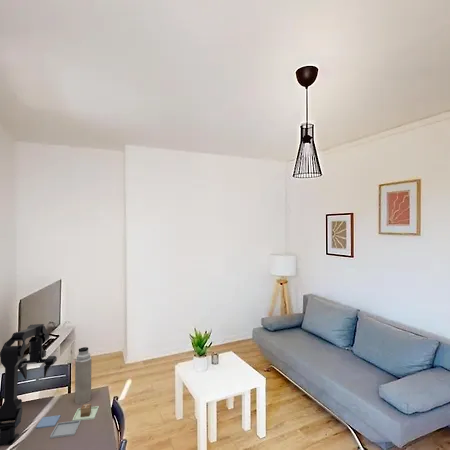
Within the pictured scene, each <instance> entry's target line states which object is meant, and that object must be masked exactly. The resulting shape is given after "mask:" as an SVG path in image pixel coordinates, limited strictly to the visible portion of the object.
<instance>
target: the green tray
mask: <svg viewBox="0 0 450 450" xmlns="http://www.w3.org/2000/svg"><path fill="white" fill-rule="evenodd" d="M99 407H100V406H99V405H96V406H91V413H90V416H87V417H81V407H79V408H77V410H76V412H75V414H74V416H73V417H72V420H71V421H78V420H81V421H89V420H95V419H96V416H97V414H98V411H99Z"/></svg>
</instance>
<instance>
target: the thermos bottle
mask: <svg viewBox="0 0 450 450" xmlns="http://www.w3.org/2000/svg"><path fill="white" fill-rule="evenodd" d="M74 366H75V368H74V369H75V370H74V374H75V375H74V378H75V379H74V381H75V382H74V389H75V391H74V402H75V404H76V405H77V404H78V405H83V404H87V403H88V402H90V401H91V400H92V357H91V353H90V352H89V347H87V346H85V347H80V348H78V354H77V355H76V359H75V364H74Z"/></svg>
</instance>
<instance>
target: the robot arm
mask: <svg viewBox="0 0 450 450" xmlns="http://www.w3.org/2000/svg"><path fill="white" fill-rule="evenodd" d="M11 335H12V336H11V337H10V338H9V339H8V340H6V342H5V343H3V346H2V348H1V350H0V363H1V365H2V366H3V367H4V390H3V392H4V393H3V402H2V405H1V406H0V447H2V446H9V445H13V444H14V442H15V441H16V439H17V438H18V437H19V436H20V435H19V433H16V430H17V427H18V426H19V425H20V424H21V421H22V415H23V405H22V403H23V400H22V399H21V398H18V384H19V383H18V380H19V379H18V378H19V372H20V373H21V375H22V377H23V378H24V380H27V379H28V365H32V364H33V365H35V364H36V365H37V364H44V366H43V370H44V371H43V377H44V378H46V377H47V375H48V372H49V370H50V367H51V366H53V365H54V364H55V363H56V362H57V356H56V355H49V356H48V357H46V355H47V350H44V348H43V345H44V344H45V343H46V342H47V341H49V339H50V334H49V333H48V331H47V328H46V326H45V324H44V323H38V324H37V323H36V324H29V325H28V326H27V328H26V329H23V330H21V331H16V332H14V333H12V334H11ZM29 338H30V339H29ZM27 339H29V340H28V343H29V352H28V355H29V359H28V358H27V357H25V358H23V357H24V353H25V351H26V349H27V344H26V340H27ZM15 342H22V344H21V345H13V344H15Z"/></svg>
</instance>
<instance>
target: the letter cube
mask: <svg viewBox="0 0 450 450" xmlns="http://www.w3.org/2000/svg"><path fill="white" fill-rule="evenodd" d="M81 405H82V406H81V407H80V408H81V417H87V416H90V413H91V407H92V403H83V404H81Z"/></svg>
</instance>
